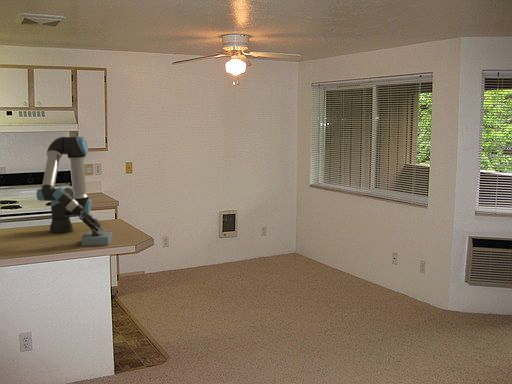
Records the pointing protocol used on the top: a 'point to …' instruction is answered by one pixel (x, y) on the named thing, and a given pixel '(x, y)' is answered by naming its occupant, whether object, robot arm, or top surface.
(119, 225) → the top surface
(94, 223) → the gray bottle
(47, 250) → the top surface
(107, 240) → the socket
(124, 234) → the top surface
